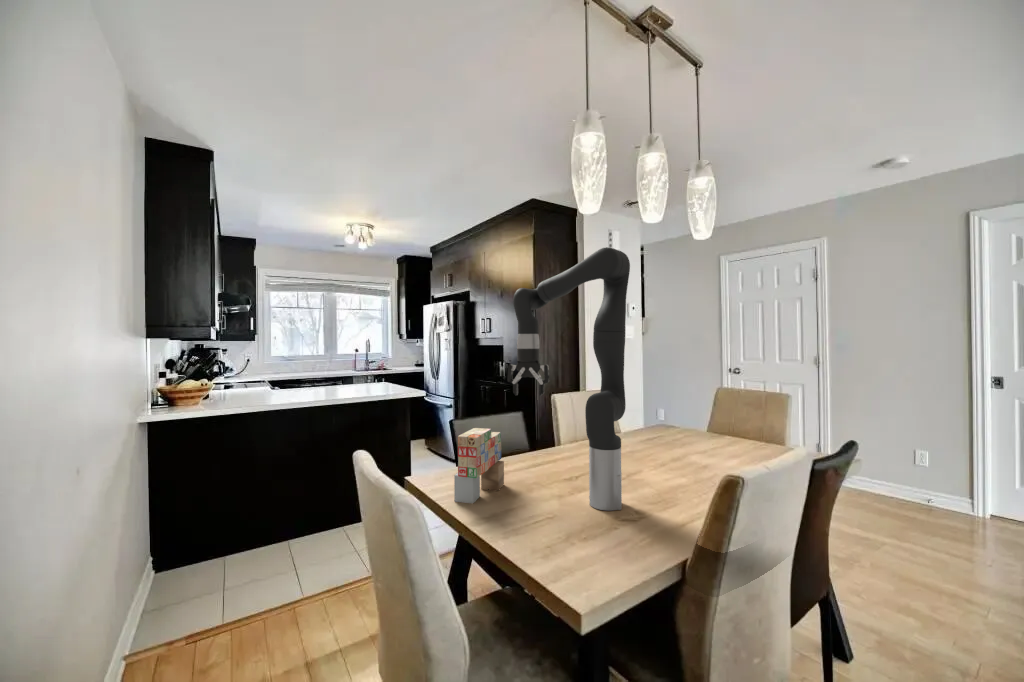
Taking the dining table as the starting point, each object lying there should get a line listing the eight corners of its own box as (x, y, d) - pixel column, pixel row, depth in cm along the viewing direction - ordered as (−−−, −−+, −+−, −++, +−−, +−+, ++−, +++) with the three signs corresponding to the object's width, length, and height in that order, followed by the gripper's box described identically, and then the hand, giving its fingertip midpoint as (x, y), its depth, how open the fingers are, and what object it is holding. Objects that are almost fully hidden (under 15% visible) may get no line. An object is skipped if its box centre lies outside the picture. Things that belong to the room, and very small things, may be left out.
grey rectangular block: (479, 496, 130) (479, 470, 130) (473, 503, 125) (473, 476, 125) (461, 494, 132) (461, 469, 132) (454, 501, 126) (454, 475, 126)
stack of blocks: (484, 457, 145) (484, 422, 145) (501, 459, 143) (501, 423, 143) (457, 476, 125) (457, 435, 125) (476, 478, 123) (476, 436, 123)
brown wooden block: (504, 484, 141) (503, 461, 141) (498, 491, 135) (498, 466, 135) (487, 483, 142) (487, 459, 143) (481, 489, 137) (481, 464, 137)
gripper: (550, 347, 143) (551, 394, 143) (511, 347, 147) (511, 393, 147) (546, 347, 136) (547, 397, 136) (505, 347, 140) (505, 396, 140)
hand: (528, 395), depth 142 cm, fingers open, 8 cm apart
